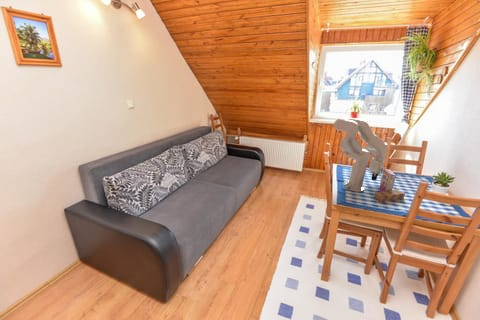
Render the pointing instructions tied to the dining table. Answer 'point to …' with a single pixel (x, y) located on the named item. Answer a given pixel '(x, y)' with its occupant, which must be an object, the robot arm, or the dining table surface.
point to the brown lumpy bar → (389, 195)
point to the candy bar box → (387, 180)
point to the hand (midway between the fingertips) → (373, 179)
